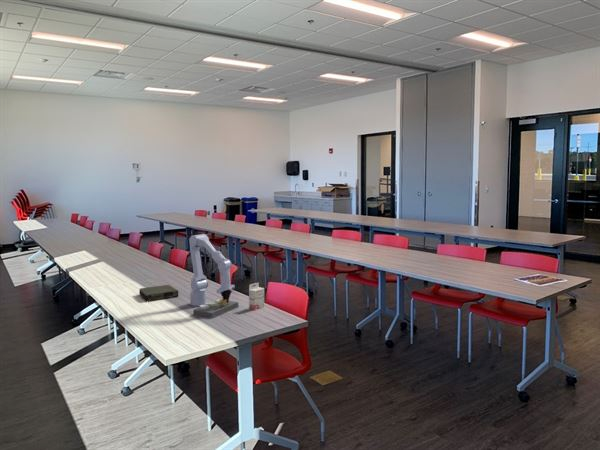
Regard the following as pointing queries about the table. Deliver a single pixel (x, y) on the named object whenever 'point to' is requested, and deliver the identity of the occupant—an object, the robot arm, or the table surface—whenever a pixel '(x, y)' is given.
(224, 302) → the brass slider
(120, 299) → the table surface
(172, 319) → the table surface
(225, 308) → the control panel
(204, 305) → the grey button
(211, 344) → the table surface
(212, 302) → the sage button
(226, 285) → the robot arm
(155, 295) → the network switch
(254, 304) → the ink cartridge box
